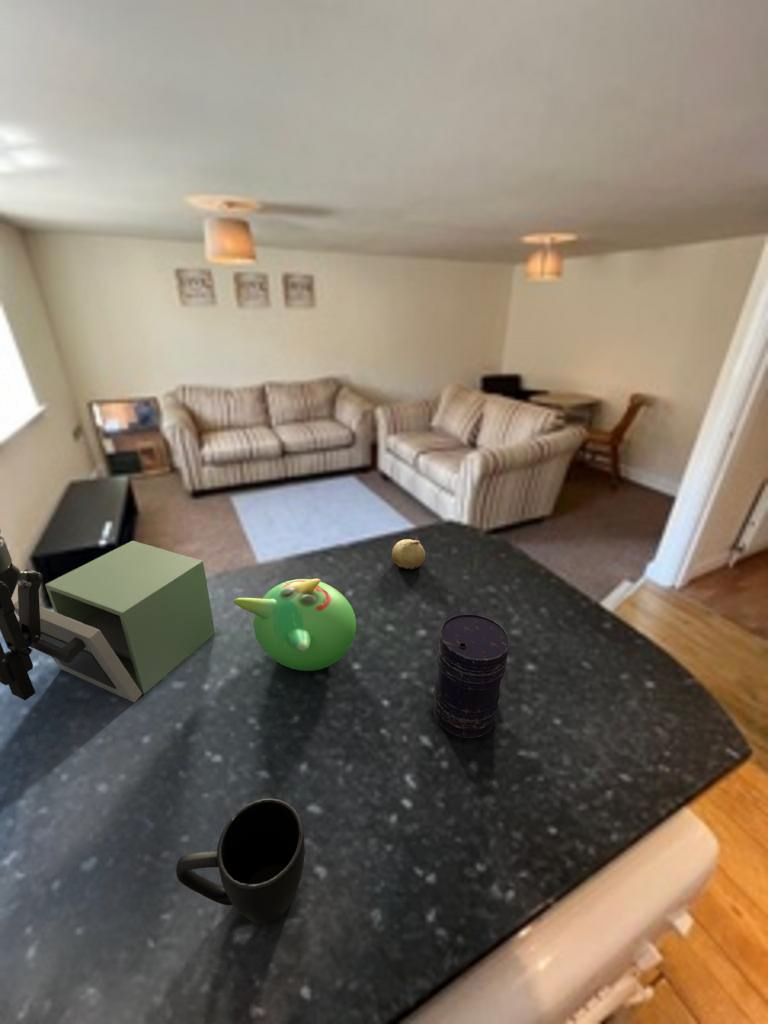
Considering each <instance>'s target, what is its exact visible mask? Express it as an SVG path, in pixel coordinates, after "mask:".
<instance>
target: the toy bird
mask: <svg viewBox="0 0 768 1024" xmlns="http://www.w3.org/2000/svg"><path fill="white" fill-rule="evenodd" d="M233 603H234V604H235V605H236V606H237V607H239V608H241V609H243V610H245V611H248V612H250V613H252V614H254V616H253V631H254V634H255V638H256V640H257V642H258V644H259V645H260V648H262V649H263V651H264V652H265V653H266V654H267V655H268V656H269V657H270V658H271V659H273V661H276V663H279V664H280V665H282V666H284V667H287V668H289V669H293V670H295V671H304V672H313V671H319V670H322V669H326V668H328V667H330V666H333V665H334V664H336V663H337V662H338V661H340V660H341V659H342V658H343V657H344V656H345V655H346V653H347V652H348V651H349V649H350V647H352V645H353V642H354V638H355V636H356V632H357V631H356V630H357V619H356V614H355V611H354V609H353V607H352V605H351V604H350V602H349V601H348V600H347V598H346V597H345V596H344V595H343V594H342V593H341V592H340V591H339V590H337V588H334V587H333V586H331V585H329V584H328V583H325V582H323V581H321V579H320V578H313V579H310V578H298V579H297V578H296V579H291V580H286V581H284V582H282V583H279V584H277V585H276V586H274V587H273V588H271V589H270V590H268V592H266V594H265V595H264V596H263V597H262V598H259V597H257V598H256V597H237V598H234V600H233Z"/></svg>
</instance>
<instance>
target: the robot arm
mask: <svg viewBox="0 0 768 1024" xmlns="http://www.w3.org/2000/svg"><path fill="white" fill-rule="evenodd" d="M1 532H2V531H1V529H0V534H1ZM43 580H44V574H43V573H41V572H38V571H36V570H33V569H30V568H26V569H24V570H20V568H19V567H17V566H16V565H14V564H13V561H12V556H11V554H10V551H9V548H8V546H7V543H6V540H5V538H4V537H3V536H1V535H0V633H1V635H2V638H3V640H4V643H5V645H6V648H7V649H8V651H7V652H5V650H4V648H3V645H2V643H1V642H0V684H2V685H4V686H8V687H9V689H10V693H11V694H12V695H13V696H15V697H17V698H19V699H20V700H22V701H27V700H28V699H30V698H31V697H32V696H34V695H35V694H37V693H36V690H35V688H34V685H33V682H32V680H31V678H30V675H29V672H30V671H32V670H33V669H34V664H33V661H32V658H31V654H32V652H33V648H31V647H29V646H30V645H31V644H32V643H33V642H34V643H35V642H37V641H39V640H40V638H41V629H40V607H41V606H40V587H41V585H42V582H43ZM16 588H17V601H18V605H19V616H18V617H17V614H16V612H15V611H14V610H15V607H14V602H13V599H12V597H13V595H14V593H15V590H16ZM18 621H19V622H18Z"/></svg>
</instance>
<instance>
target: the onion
mask: <svg viewBox="0 0 768 1024" xmlns="http://www.w3.org/2000/svg"><path fill="white" fill-rule="evenodd" d="M418 538H419V537H417V536H416V537H415V539H410V538H409V539H402V540H399V541H398V542H396V543H395V545H393V548H392V550H391V557H392V561H393V562H394V564H395V565H396V566H398V567H399V568H401V569H407V570H414V569H417V568H419V567H420V566H422V564H423V563H424V562H425V559H426V551H425V549H424V547H423V545H422V544H421V542H420V540H418ZM415 567H416V568H415ZM408 568H409V569H408Z"/></svg>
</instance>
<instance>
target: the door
mask: <svg viewBox="0 0 768 1024" xmlns="http://www.w3.org/2000/svg"><path fill="white" fill-rule="evenodd" d="M13 604H14V607H15V610H14V612H15V614H16V616H18V617H19V605H18V600H16V601H15V602H13ZM18 622H19V620H18ZM40 629H41V638H40V640H39V641H37V642H35V643H34V642H33V643H32V644H31V645H30V646H29V648H31V649H33V650H36V651H38V652H40V653H43V654H45V655H47V656H48V657H51V658H52V660H53V661H54V662H55V663H56V665H57V666H58V667H59V668H60V670H62V671H64V672H66V673H69V674H70V675H72V676H75V677H77V678H80V679H81V680H84V681H86V682H88V683H90V684H93V685H95V686H97V687H99V688H101V689H104V690H105V691H108V692H110V693H113V694H115V695H116V696H119V697H121V698H123V699H126V700H128V701H130V702H132V703H136V702H137V700H138V699H140V697H141V696H142V695H143V693H141V692H140V690H139V689H138V687H137V686H136V684H135V683H134V681H133V680H132V678H131V677H130V675H129V674H128V672H127V671H126V669H125V668H124V666H123V665H122V663H121V662H120V660H119V659H118V657H117V656H116V654H115V653H114V651H113V650H112V648H111V647H110V645H109V644H108V642H107V641H106V639H105V638H104V636H103V635H102V633H101V632H100V630H98V629H96V628H93V627H91V626H88V625H86V624H83V623H81V622H78V621H76V620H73V619H70V618H68V617H65V616H63V615H60V614H58V613H55V612H54V610H53V611H52V610H51V609H48V608H46V607H42V606H40Z"/></svg>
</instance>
